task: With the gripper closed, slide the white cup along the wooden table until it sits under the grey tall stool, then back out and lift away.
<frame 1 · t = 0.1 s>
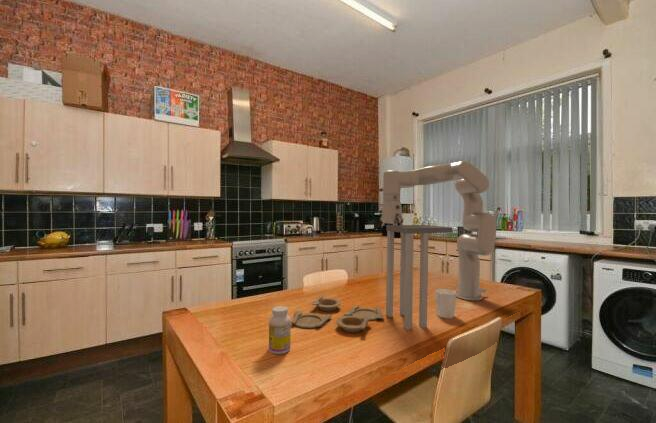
hand: (390, 236, 133), 31 cm above the table, tool pointing down, fingers open, 9 cm apart
tableware set: (338, 319, 118), on the table
white cup: (445, 316, 122), on the table
grey tall stool: (416, 319, 118), on the table
supplement bottle: (279, 350, 92), on the table
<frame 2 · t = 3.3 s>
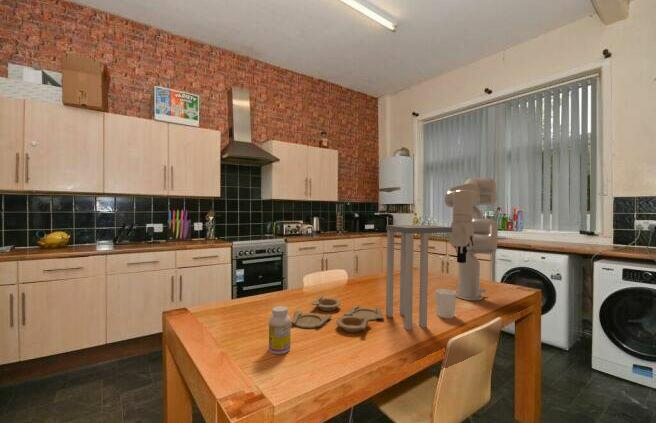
hand: (461, 262, 126), 21 cm above the table, tool pointing down, fingers closed
nothing on the table moved.
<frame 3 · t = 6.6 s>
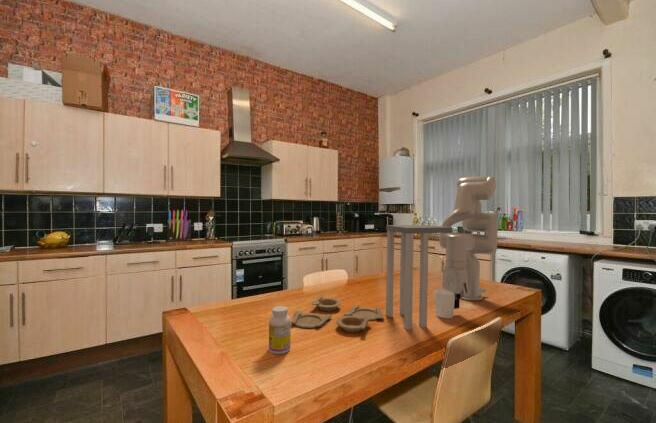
hand: (454, 307, 124), 3 cm above the table, tool pointing down, fingers closed
white cup: (444, 316, 122), on the table, touching gripper
everything else where it was.
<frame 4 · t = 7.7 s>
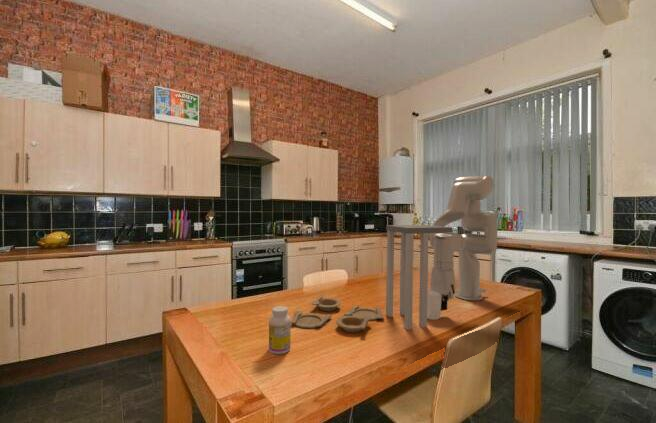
hand: (442, 309, 122), 3 cm above the table, tool pointing down, fingers closed
white cup: (431, 317, 121), on the table, touching gripper
everything else where it was.
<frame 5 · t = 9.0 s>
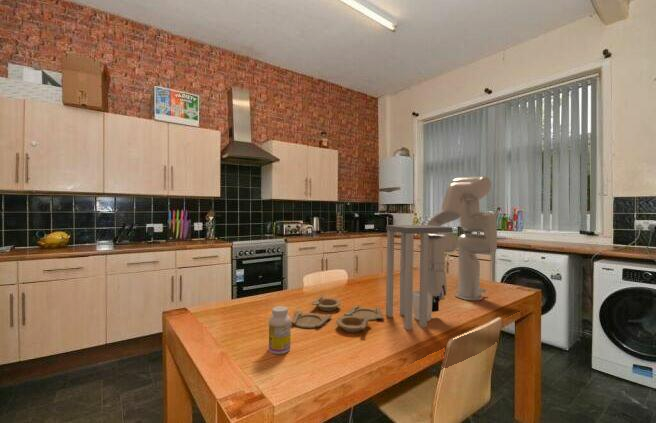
hand: (434, 310, 120), 3 cm above the table, tool pointing down, fingers closed
white cup: (422, 318, 119), on the table, touching gripper
everything else where it was.
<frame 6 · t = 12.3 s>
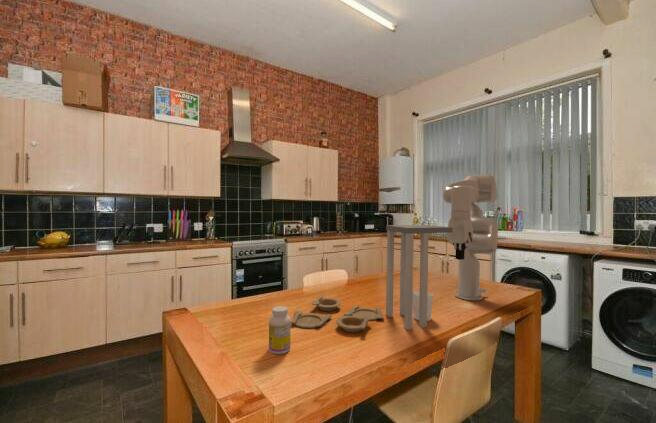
hand: (459, 259, 124), 23 cm above the table, tool pointing down, fingers closed
white cup: (422, 318, 119), on the table
everything else where it was.
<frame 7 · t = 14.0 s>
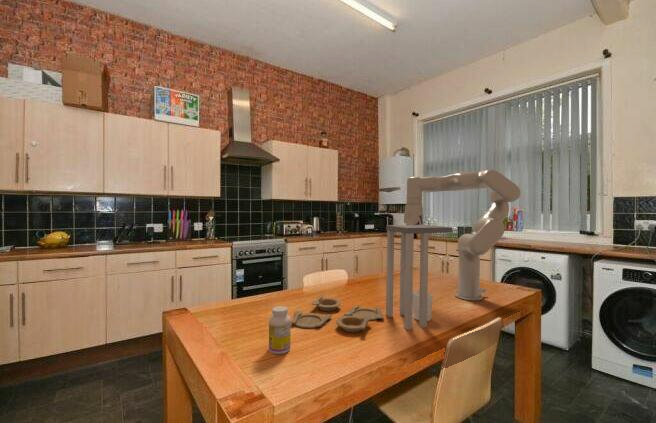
hand: (413, 238, 148), 29 cm above the table, tool pointing down, fingers closed
nothing on the table moved.
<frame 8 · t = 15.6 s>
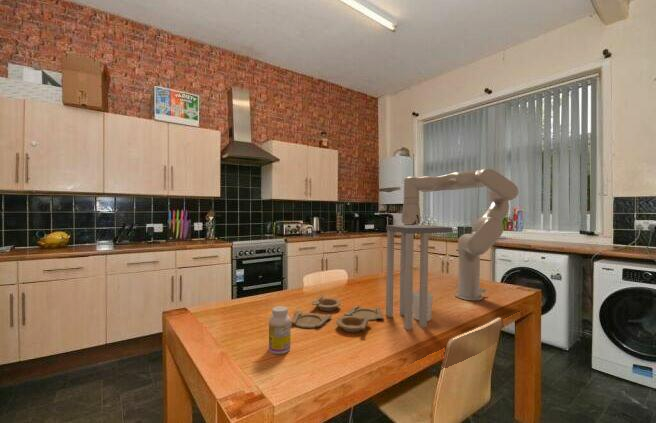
hand: (410, 237, 150), 29 cm above the table, tool pointing down, fingers closed
nothing on the table moved.
at the end: white cup inside the target area (2.1 cm from its centre), on the table; white cup tilted 0°; the gripper is holding nothing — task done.
